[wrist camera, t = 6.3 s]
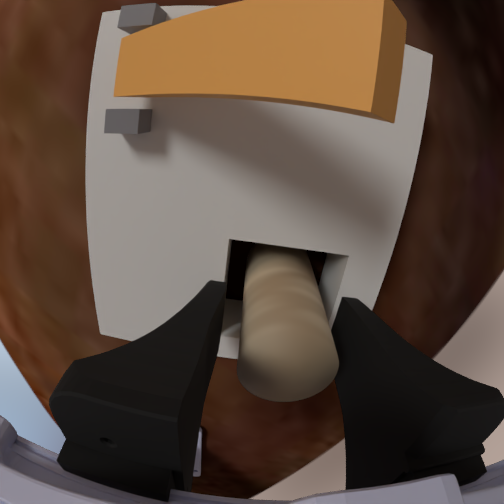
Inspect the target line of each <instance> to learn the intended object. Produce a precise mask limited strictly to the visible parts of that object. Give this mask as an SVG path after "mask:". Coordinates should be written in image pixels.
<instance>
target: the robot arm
mask: <svg viewBox="0 0 504 504" xmlns="http://www.w3.org/2000/svg"><path fill="white" fill-rule="evenodd" d="M226 288H227V282H221V281H214V280H210V281H208V282H207V283H206V285H205V286H204V287H203V288H202V289H201V290H200V291H199V293H198V294H197V295H196V296H195V297H194V298H193V299H192V300H191V301H190V302H189V303H187V304H186V305H185V306H184V307H183V308H182V309H181V310H180V311H179V312H177V313H176V314H175V315H174V316H172V317H171V318H170V319H169V320H167V321H166V322H165V323H163V324H162V325H160V326H159V327H157V328H156V329H154V330H153V331H151V332H150V333H148V334H146V335H144V336H142V337H140V338H138V339H136V340H134V341H132V342H130V343H128V344H126V345H123V346H121V347H118V348H116V349H113V350H110V351H108V352H104V353H101V354H98V355H94V356H90V357H87V358H83V359H79V360H74V361H73V363H72V364H71V365H70V367H69V368H68V369H67V370H66V372H65V373H64V375H63V376H62V378H61V380H60V381H59V383H58V385H57V386H56V388H55V390H54V391H53V393H52V395H51V397H50V399H49V406H50V409H51V411H52V414H53V416H54V418H55V420H56V422H57V424H58V425H59V427H60V429H61V431H62V433H63V434H64V436H65V438H66V440H65V442H64V445H63V447H62V449H61V451H60V453H59V454H57V453H54V452H52V451H50V450H47V449H45V448H43V447H41V446H39V445H37V444H35V443H32V442H30V441H28V440H26V439H24V438H22V437H20V436H18V435H17V432H16V431H15V429H14V427H13V426H12V425H11V424H10V423H9V422H8V421H7V420H6V419H5V418H3V417H2V416H1V415H0V504H504V460H502V461H499V462H497V463H494V464H492V465H489V466H486V467H485V465H484V462H483V460H482V457H481V454H483V453H484V452H485V449H484V446H483V444H482V443H483V442H484V441H485V440H486V438H488V437H489V435H490V434H491V433H492V432H493V431H494V430H495V429H496V428H497V427H498V425H499V424H500V423H501V422H502V420H503V419H504V398H503V396H502V394H501V393H500V391H499V390H498V389H497V388H494V387H491V386H488V385H485V384H482V383H479V382H477V381H474V380H471V379H469V378H467V377H464V376H462V375H460V374H458V373H456V372H454V371H452V370H450V369H448V368H446V367H444V366H443V365H441V364H439V363H437V362H436V361H434V360H432V359H431V358H429V357H428V356H426V355H425V354H423V353H422V352H420V351H419V350H417V349H416V348H415V347H413V346H412V345H411V344H409V343H408V342H407V341H406V340H404V339H403V338H402V337H401V336H399V335H398V334H397V333H396V332H395V331H394V330H392V329H391V328H390V327H389V326H388V325H387V324H386V323H385V322H384V321H382V320H381V319H380V318H379V317H378V316H377V315H376V314H375V313H374V312H373V311H372V310H370V309H369V308H368V307H367V306H366V305H365V304H364V303H362V302H361V301H360V300H359V299H357V298H350V297H342V298H341V302H340V305H339V308H338V311H337V314H336V317H335V320H334V323H333V326H332V329H331V333H332V337H333V340H334V344H335V347H336V351H337V355H338V359H339V367H338V371H337V374H336V376H335V378H334V379H335V383H336V387H337V391H338V395H339V399H340V403H341V408H342V414H343V422H344V432H345V448H346V490H341V491H334V492H327V493H320V494H314V495H311V496H307V497H303V498H299V499H296V500H293V501H276V500H275V501H273V500H253V499H239V498H229V497H220V496H212V495H204V494H198V493H191V487H192V479H193V476H196V477H198V476H200V475H201V450H202V429H201V428H200V424H201V418H202V411H203V405H204V401H205V397H206V393H207V389H208V386H209V382H210V379H211V375H212V372H213V368H214V365H215V361H216V357H217V354H218V350H219V345H220V338H221V332H222V325H223V315H224V306H225V297H226Z"/></svg>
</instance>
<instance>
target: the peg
mask: <svg viewBox="0 0 504 504" xmlns="http://www.w3.org/2000/svg"><path fill="white" fill-rule="evenodd" d="M338 367H339V359H338V355H337V351H336V347H335V344H334V340H333V337H332V333H331V330H330V326H329V323H328V319H327V316H326V312H325V309H324V305H323V302H322V299H321V295H320V292H319V289H318V285H317V282H316V279H315V276H314V272H313V269H312V266H311V263H310V260H309V256H308V253H307V251H306V249H298V248H291V247H284V246H277V245H270V244H263V243H256V244H254V245H253V247H252V248H251V250H250V251H249V253H248V256H247V261H246V272H245V283H244V295H243V306H242V317H241V328H240V340H239V351H238V362H237V375H238V378H239V380H240V382H241V384H242V385H243V386H244V387H245V388H246V389H247V390H248V391H249V392H250V393H252V394H254V395H255V396H258V397H260V398H263V399H266V400H270V401H276V402H291V401H298V400H302V399H305V398H308V397H311V396H313V395H315V394H317V393H319V392H321V391H322V390H323V389H325V388H326V387H327V386H328V385H329V384H330V383H331V382H332V381H333V379H334V378H335V376H336V374H337V371H338Z"/></svg>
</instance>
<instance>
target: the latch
mask: <svg viewBox="0 0 504 504" xmlns="http://www.w3.org/2000/svg"><path fill="white" fill-rule="evenodd" d="M406 26H407V21H406V20H405V18H404V17H403V15H402V14H401V12H400V11H399V9H398V8H397V7H396V5H395V4H394V2H393V1H392V0H245V1H240V2H235V3H230V4H226V5H221V6H217V7H213V8H209V9H205V10H201V11H198V12H194V13H191V14H187V15H184V16H181V17H178V18H174V19H171V20H168V21H165V22H162V23H160V24H157V25H154V26H151V27H148V28H146V29H143V30H141V31H138V32H135V33H133V34H130V35H128V36H126V37H123V38H122V39H121V44H120V50H119V57H118V63H117V71H116V78H115V86H114V95H113V97H143V98H149V97H202V98H226V99H241V100H254V101H265V102H274V103H283V104H291V105H299V106H306V107H313V108H319V109H326V110H331V111H337V112H343V113H348V114H353V115H358V116H363V117H368V118H372V119H377V120H381V121H385V122H390V123H394V122H395V116H396V110H397V104H398V97H399V91H400V83H401V76H402V68H403V59H404V49H405V38H406Z"/></svg>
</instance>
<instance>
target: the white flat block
mask: <svg viewBox="0 0 504 504" xmlns="http://www.w3.org/2000/svg"><path fill="white" fill-rule="evenodd" d="M213 7H217V6H161V7H160V6H159V5H158V4H157V3H150V4H138V5H128V6H122V7H121V10H116V11H109V12H103V14H102V18H101V23H100V28H99V33H98V38H97V44H96V50H95V56H94V63H93V70H92V78H91V86H90V96H89V107H88V120H87V138H86V213H87V231H88V245H89V256H90V266H91V275H92V283H93V291H94V298H95V305H96V311H97V317H98V323H99V329H100V334H103V335H108V336H112V337H116V338H121V339H125V340H130V341H134V340H136V339H138V338H140V337H142V336H144V335H146V334H148V333H150V332H151V331H153V330H154V329H156V328H157V327H159V326H160V325H162V324H163V323H165V322H166V321H167V320H169V319H170V318H171V317H172V316H174V315H175V314H176V313H177V312H179V311H180V310H181V309H182V308H183V307H184V306H185V305H186V304H187V303H189V302H190V301H191V300H192V299H193V298H194V297H195V296H196V295H197V294H198V293H199V291H200V290H201V289H202V288H203V287H204V286H205V285H206V283H207V282H208V281H210V280H214V281H221V282H228V273H229V264H230V256H231V247H232V239H233V240H241V241H248V242H255V243H263V244H270V245H277V246H284V247H291V248H298V249H306V250H313V251H320V252H327V255H326V259H325V263H324V267H323V271H322V275H321V279H320V282H319V286H318V289H319V292H320V295H321V299H322V302H323V305H324V309H325V312H326V316H327V319H328V323H329V326H330V330H331V329H332V326H333V323H334V320H335V317H336V314H337V311H338V308H339V305H340V302H341V298H342V297H350V298H357V299H359V300H360V301H361V302H362V303H364V304H365V305H366V306H367V307H368V308H369V309H370V310H372V309H373V307H374V304H375V301H376V299H377V296H378V293H379V290H380V288H381V285H382V282H383V279H384V276H385V273H386V270H387V267H388V264H389V261H390V258H391V255H392V252H393V249H394V245H395V242H396V239H397V236H398V232H399V229H400V225H401V222H402V218H403V215H404V211H405V207H406V203H407V200H408V196H409V192H410V188H411V183H412V179H413V175H414V171H415V166H416V161H417V157H418V152H419V147H420V142H421V137H422V131H423V125H424V120H425V113H426V107H427V100H428V93H429V85H430V77H431V68H432V57H433V55H431V54H429V53H426V52H424V51H422V50H419V49H417V48H414V47H411V46H409V45H406V44H405V49H404V59H403V68H402V76H401V83H400V91H399V97H398V104H397V110H396V116H395V122H394V123H390V122H385V121H381V120H377V119H372V118H368V117H363V116H358V115H353V114H348V113H343V112H337V111H331V110H326V109H319V108H313V107H306V106H299V105H291V104H283V103H274V102H265V101H254V100H241V99H226V98H202V97H149V98H143V97H113V95H114V86H115V78H116V71H117V63H118V57H119V50H120V44H121V39H122V38H123V37H126V36H128V35H130V34H133V33H135V32H138V31H141V30H143V29H146V28H148V27H151V26H154V25H157V24H160V23H162V22H165V21H168V20H171V19H174V18H178V17H181V16H184V15H187V14H191V13H194V12H198V11H201V10H205V9H209V8H213ZM226 290H227V288H226ZM242 306H243V301H241V300H234V299H227V298H226V297H225V306H224V315H223V325H222V332H221V338H220V345H219V350H218V354H217V356H219V357H226V358H233V359H238V351H239V340H240V328H241V317H242Z"/></svg>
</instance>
